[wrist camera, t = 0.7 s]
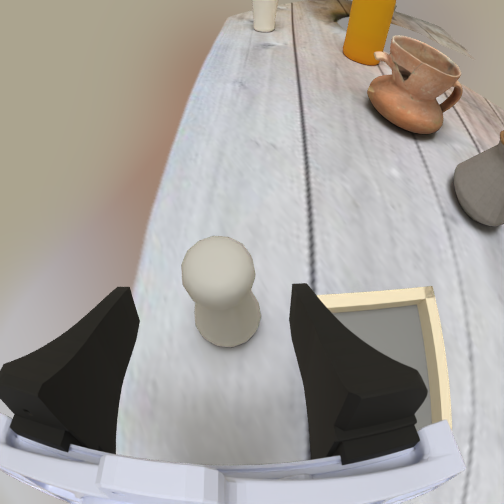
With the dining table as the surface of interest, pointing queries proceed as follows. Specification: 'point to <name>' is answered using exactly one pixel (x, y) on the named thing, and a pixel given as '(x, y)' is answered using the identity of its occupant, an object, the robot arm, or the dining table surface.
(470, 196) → the coffee pot
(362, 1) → the beer bottle
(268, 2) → the drinking glass
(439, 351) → the tray
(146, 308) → the dining table surface
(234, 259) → the salt shaker
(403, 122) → the ceramic jug
